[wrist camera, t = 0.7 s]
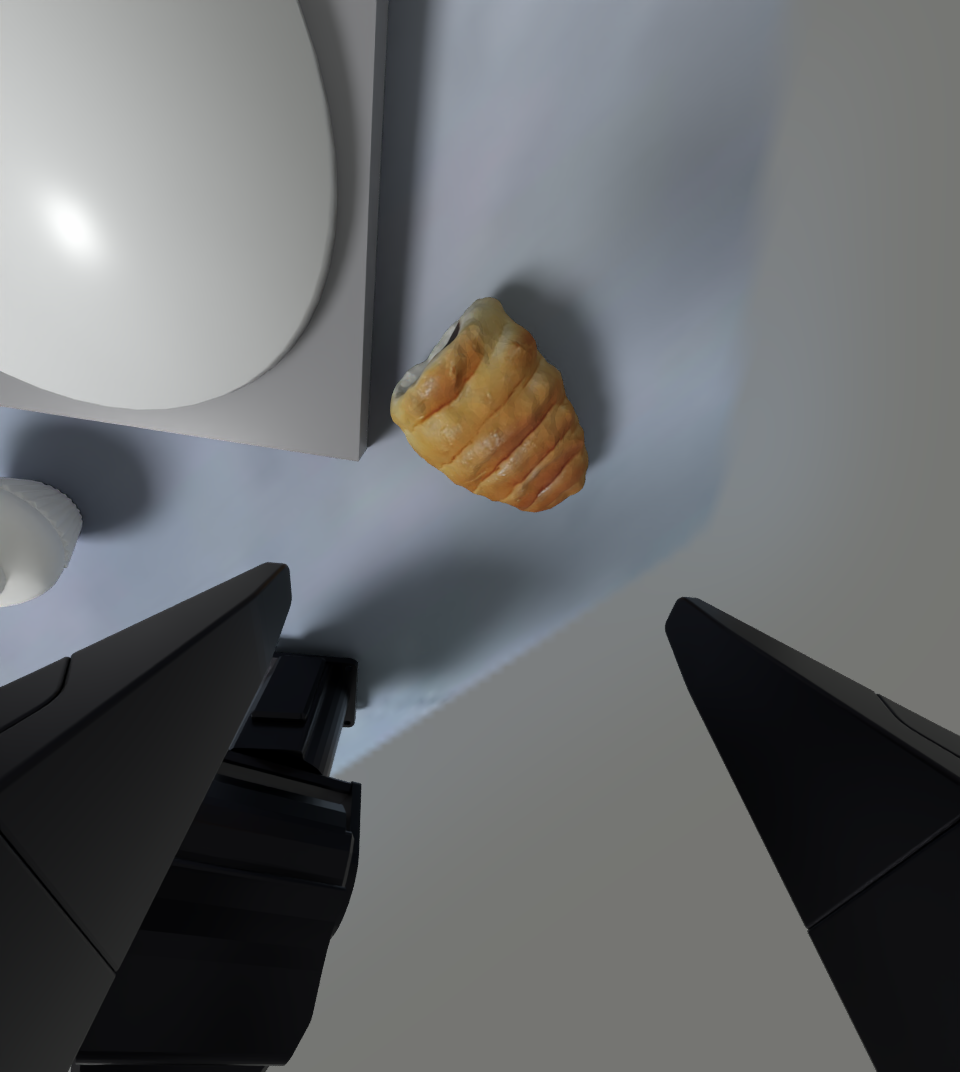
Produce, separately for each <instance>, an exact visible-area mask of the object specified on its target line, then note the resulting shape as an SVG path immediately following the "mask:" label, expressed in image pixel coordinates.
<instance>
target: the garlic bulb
mask: <svg viewBox="0 0 960 1072" xmlns="http://www.w3.org/2000/svg"><path fill="white" fill-rule="evenodd" d="M79 512H80V510H78V509H77V508H76V504H74V503H73V502H72V500H71V499H70V498H67V496H66V494H63V493H61V492H60V491H59V490H58V489H54V488H53V487H52V486H51V485H44V484H43V483H42V482H37V481H34V480H25V479H15V478H4V477H0V607H6V606H12V605H16V604H20V603H24V602H27V601H30V600H32V599H34V598H37V597H38V596H40V595H42V594H44V593H45V592H47V591H48V590H49V589H50V588H52V586H53V585H54V584H55V583H56V582H57V580H58V579H59V577H60V575H61V574H62V572H63V570H64V568H67V567H68V564H69V562H70V559H71V556H72V554H73V551H74V548H75V546H76V543H77V540H78V537H79V534H80V531H81V528H82V523H83V521H82V519H81V518H82V516H81V515H80V513H79Z"/></svg>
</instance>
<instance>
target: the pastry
mask: <svg viewBox="0 0 960 1072" xmlns="http://www.w3.org/2000/svg"><path fill="white" fill-rule="evenodd" d="M390 412H391V417H392V420H393V422H395V423H396V424H397V425H398V426H399V427H400V428H401V429H402V431H403V432H404V433H405V435H406V438H407V440H408V442H409V444H410V445H411V446H412V448H413V449H414V450H415V451H416V452H417V453H418V454H419V455H420V456H421V457H422V458H424V459H425V460H426V461H427V462H428V463H429V464H431V465H432V466H434V467H435V468H437V469H438V470H440V471H441V472H443V473H444V474H445V475H446V476H447V477H448V478H449V479H450V480H452V481H453V482H454V483H455V484H456V485H460V486H463V487H465V488H466V489H468V490H469V491H471V492H472V493H474V494H477V495H482V496H485V497H487V498H488V499H490V500H492V501H500V502H502V503H507V504H510V505H512V506H514V507H516V508H518V509H520V510H522V511H529V512H539V511H543V510H547V509H551V508H552V507H554V506H556V505H557V504H559V503H561V502H562V501H564V500H565V499H566V498H567V497H569V496H570V495H574V494H576V493H577V492H579V491H580V490H581V489H582V488H583V486H584V483H585V475H586V470H587V468H588V453H587V451H586V448H585V444H584V431H583V429H582V427H581V426H580V424H579V420H578V416H577V415H576V413H575V411H574V408H573V406H572V404H571V403H570V401H569V400H568V399H567V397H566V394H565V389H564V385H563V380H562V376H561V373H560V372H559V371H558V370H557V369H556V368H555V367H554V366H552V365H551V364H549V363H548V362H546V360H545V358H544V357H543V356H542V355H541V354H540V352H539V351H538V350H537V345H536V342H535V340H534V338H533V337H532V335H531V334H530V333H529V332H528V331H527V330H526V329H524V328H523V327H522V326H520V325H518V324H516V323H515V322H514V321H513V320H512V319H511V318H510V317H509V316H508V315H507V314H506V313H505V312H504V309H503V307H502V305H501V303H500V302H499V301H498V300H497V299H494V298H491V297H487V298H483V299H478V300H476V301H475V302H474V303H473V304H472V305H471V306H470V307H469V308H468V309H467V310H466V311H465V312H464V314H463V315H462V316H461V317H460V319H459V320H458V321H456V322H455V323H454V324H453V325H452V326H450V328H449V329H448V330H447V331H446V332H445V333H444V335H443V336H442V338H441V340H440V341H439V343H438V344H437V345H436V346H435V348H434V349H433V351H432V352H431V354H430V356H429V358H428V359H427V360H426V361H425V362H423V363H421V364H417V365H415V366H414V367H412V368H411V369H409V370H408V371H407V372H406V374H405V375H404V377H403V378H402V379H401V380H400V381H399V382H398V383H397V385H396V387H395V389H394V391H393V394H392V398H391V406H390Z"/></svg>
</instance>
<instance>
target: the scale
mask: <svg viewBox="0 0 960 1072" xmlns="http://www.w3.org/2000/svg"><path fill="white" fill-rule="evenodd" d="M388 6H389V0H0V406H2V407H8V408H15V409H21V410H28V411H34V412H41V413H47V414H54V415H60V416H67V417H73V418H80V419H86V420H93V421H99V422H105V423H112V424H118V425H125V426H131V427H138V428H144V429H151V430H157V431H164V432H170V433H177V434H183V435H190V436H196V437H203V438H209V439H216V440H222V441H229V442H235V443H242V444H248V445H255V446H261V447H268V448H274V449H281V450H287V451H294V452H300V453H307V454H313V455H320V456H326V457H333V458H339V459H346V460H352V461H359V460H360V458H361V457H362V455H363V454H364V452H365V451H366V449H367V436H368V415H369V395H370V374H371V354H372V333H373V313H374V292H375V272H376V251H377V231H378V210H379V190H380V170H381V149H382V129H383V108H384V88H385V67H386V47H387V26H388Z"/></svg>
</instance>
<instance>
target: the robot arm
mask: <svg viewBox="0 0 960 1072" xmlns="http://www.w3.org/2000/svg"><path fill="white" fill-rule="evenodd" d="M291 600H292V593H291V581H290V571H289V567H288V566H287V565H286V564H283V563H271V562H267V563H264V564H261V565H259V566H257V567H255V568H253V569H251V570H249V571H247V572H244V573H242V574H240V575H238V576H236V577H234V578H232V579H230V580H228V581H225V582H223V583H221V584H219V585H217V586H215V587H213V588H211V589H209V590H206V591H204V592H202V593H200V594H198V595H196V596H194V597H192V598H189V599H187V600H185V601H183V602H181V603H179V604H177V605H175V606H173V607H170V608H168V609H166V610H164V611H162V612H160V613H158V614H156V615H153V616H151V617H149V618H147V619H145V620H143V621H141V622H139V623H137V624H134V625H132V626H130V627H128V628H126V629H124V630H122V631H120V632H117V633H115V634H113V635H111V636H109V637H107V638H105V639H103V640H101V641H98V642H96V643H94V644H92V645H90V646H88V647H86V648H84V649H81V650H79V651H77V652H75V653H73V654H72V656H71V658H70V657H64V658H62V659H60V660H58V661H56V662H54V663H52V664H50V665H48V666H45V667H43V668H41V669H39V670H37V671H35V672H33V673H30V674H28V675H26V676H24V677H22V678H20V679H17V680H15V681H13V682H11V683H9V684H6V685H4V686H2V687H0V1072H68V1070H69V1068H70V1067H71V1072H265V1071H266V1070H267V1068H268V1067H269V1066H284V1065H285V1064H286V1063H287V1062H288V1061H289V1060H290V1058H291V1057H292V1055H293V1053H294V1051H295V1049H296V1048H297V1046H298V1044H299V1042H300V1040H301V1038H302V1037H303V1035H304V1033H305V1031H306V1029H307V1027H308V1026H309V1023H310V1021H311V1018H312V1015H313V1010H314V1006H315V1001H316V997H317V992H318V987H319V983H320V978H321V974H322V969H323V965H324V961H325V957H326V953H327V949H328V945H329V942H330V939H331V938H332V936H333V935H334V934H335V932H336V931H337V929H338V927H339V925H340V923H341V921H342V919H343V917H344V914H345V912H346V909H347V906H348V904H349V900H350V897H351V894H352V891H353V887H354V883H355V878H356V873H357V867H358V858H359V838H360V809H361V784H360V783H357V782H353V781H352V782H351V783H350V782H346V781H342V780H339V779H335V778H331V777H329V776H330V772H331V768H332V764H333V760H334V756H335V753H336V749H337V745H338V741H339V737H340V734H341V730H342V727H352V726H353V725H354V723H355V719H356V701H357V682H358V662H357V661H356V660H355V659H352V658H340V657H327V656H314V655H301V654H287V653H274V651H275V648H276V645H277V642H278V640H279V637H280V634H281V631H282V628H283V626H284V623H285V620H286V617H287V614H288V612H289V609H290V606H291ZM665 632H666V635H667V637H668V640H669V642H670V645H671V648H672V650H673V653H674V655H675V658H676V661H677V663H678V666H679V669H680V671H681V674H682V676H683V679H684V681H685V684H686V686H687V689H688V691H689V693H690V695H691V697H692V699H693V701H694V704H695V705H696V707H697V710H698V711H699V714H700V716H701V718H702V720H703V722H704V724H705V726H706V728H707V730H708V732H709V734H710V736H711V738H712V740H713V742H714V744H715V746H716V748H717V750H718V752H719V754H720V756H721V758H722V760H723V762H724V764H725V766H726V768H727V770H728V772H729V774H730V776H731V778H732V780H733V782H734V784H735V786H736V788H737V790H738V792H739V794H740V796H741V798H742V800H743V802H744V804H745V806H746V808H747V810H748V812H749V814H750V816H751V818H752V820H753V823H754V824H755V827H756V829H757V831H758V833H759V835H760V836H761V839H762V841H763V843H764V844H765V847H766V849H767V851H768V853H769V855H770V857H771V859H772V861H773V862H774V865H775V867H776V869H777V871H778V873H779V875H780V877H781V879H782V881H783V883H784V885H785V887H786V889H787V891H788V893H789V895H790V897H791V899H792V901H793V903H794V905H795V907H796V909H797V911H798V913H799V915H800V917H801V919H802V921H803V923H804V925H805V927H806V928H807V929H808V931H807V932H808V934H809V936H810V938H811V940H812V942H813V944H814V946H815V948H816V950H817V952H818V954H819V956H820V958H821V960H822V963H823V964H824V966H825V968H826V971H827V973H828V974H829V977H830V979H831V981H832V983H833V985H834V987H835V989H836V991H837V993H838V995H839V997H840V999H841V1001H842V1003H843V1005H844V1007H845V1009H846V1011H847V1013H848V1015H849V1017H850V1019H851V1021H852V1023H853V1025H854V1027H855V1029H856V1031H857V1033H858V1035H859V1037H860V1039H861V1041H862V1043H863V1045H864V1047H865V1049H866V1051H867V1053H868V1055H869V1057H870V1059H871V1061H872V1063H873V1066H874V1067H875V1070H876V1072H960V736H959V735H957V734H955V733H953V732H951V731H949V730H947V729H945V728H943V727H941V726H939V725H937V724H935V723H933V722H931V721H929V720H927V719H926V718H924V717H922V716H920V715H918V714H916V713H914V712H912V711H910V710H908V709H906V708H905V707H903V706H901V705H899V704H897V703H895V702H893V701H891V700H889V699H887V698H886V697H884V696H882V695H880V694H875V693H874V691H872V690H870V689H868V688H866V687H865V686H863V685H861V684H859V683H857V682H855V681H853V680H851V679H850V678H848V677H846V676H844V675H842V674H840V673H838V672H836V671H834V670H833V669H831V668H829V667H827V666H825V665H823V664H821V663H819V662H817V661H816V660H813V659H812V658H810V657H808V656H806V655H804V654H802V653H800V652H799V651H797V650H794V649H793V648H791V647H789V646H787V645H785V644H783V643H782V642H779V641H777V640H776V639H774V638H772V637H770V636H768V635H766V634H764V633H763V632H761V631H759V630H757V629H755V628H753V627H751V626H749V625H747V624H746V623H744V622H742V621H740V620H738V619H736V618H734V617H732V616H731V615H729V614H727V613H725V612H723V611H721V610H719V609H717V608H715V607H714V606H712V605H710V604H708V603H706V602H704V601H702V600H700V599H698V598H690V597H681V598H679V599H678V600H677V601H676V603H675V605H674V607H673V609H672V611H671V613H670V615H669V617H668V619H667V621H666V624H665ZM350 666H351V667H350Z"/></svg>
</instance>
